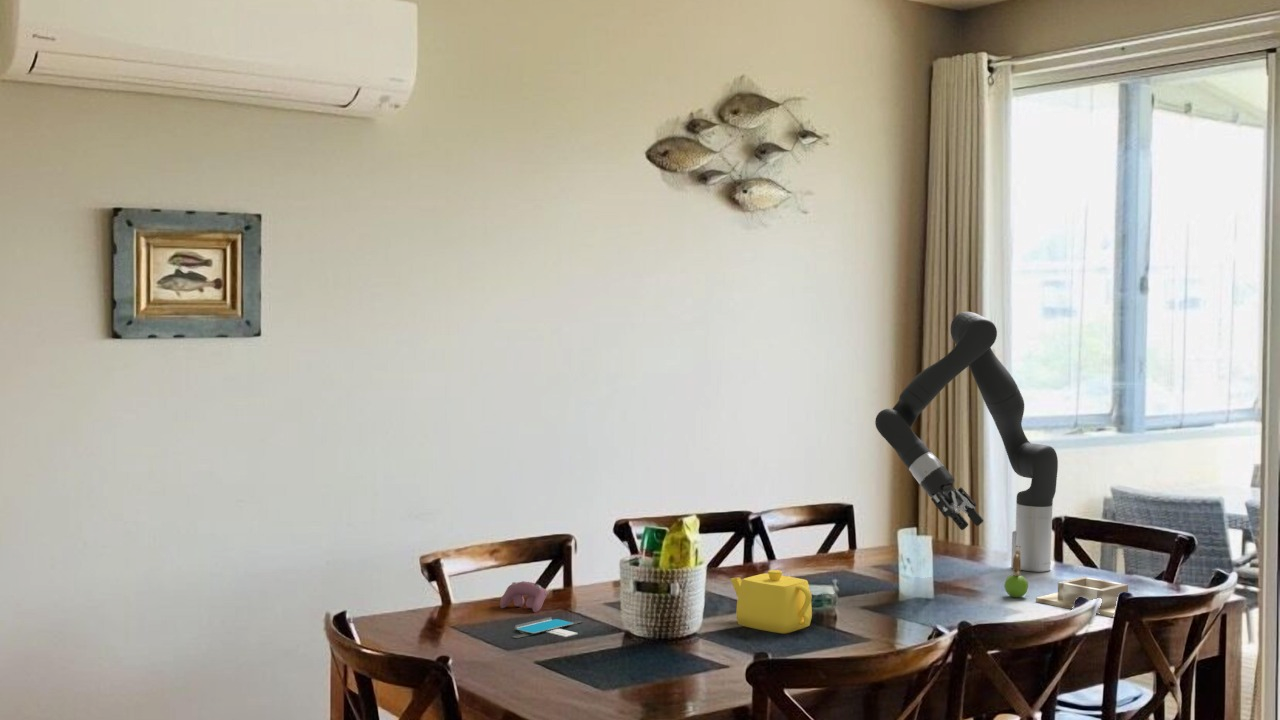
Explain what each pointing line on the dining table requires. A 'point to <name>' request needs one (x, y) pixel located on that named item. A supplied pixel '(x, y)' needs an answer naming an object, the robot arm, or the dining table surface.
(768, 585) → the teapot
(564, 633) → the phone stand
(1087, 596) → the wooden box tray
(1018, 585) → the snail figurine
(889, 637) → the dining table surface
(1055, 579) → the dining table surface
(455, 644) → the dining table surface
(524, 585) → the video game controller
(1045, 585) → the dining table surface
